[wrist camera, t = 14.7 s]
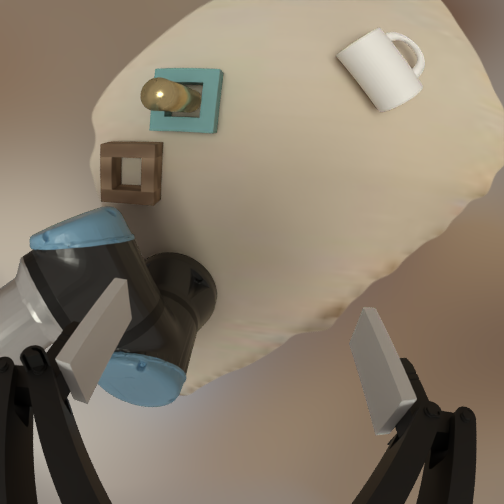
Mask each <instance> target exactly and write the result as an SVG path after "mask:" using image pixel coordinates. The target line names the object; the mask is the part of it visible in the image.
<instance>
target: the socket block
mask: <svg viewBox="0 0 504 504" xmlns="http://www.w3.org/2000/svg"><path fill="white" fill-rule="evenodd" d="M157 77H161V78H165V79H168V80H170V81H173V82H176V83H178V84H183V85H203V90H202V99H201V108H200V118H195V117H171V115H172V112H171V111H152V110H151V117H150V130H151V131H183V132H201V133H216V132H217V125H218V115H219V106H220V98H221V89H222V81H223V72H222V71H221V70H220V69H202V68H165V69H155V76H154V78H157Z"/></svg>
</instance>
